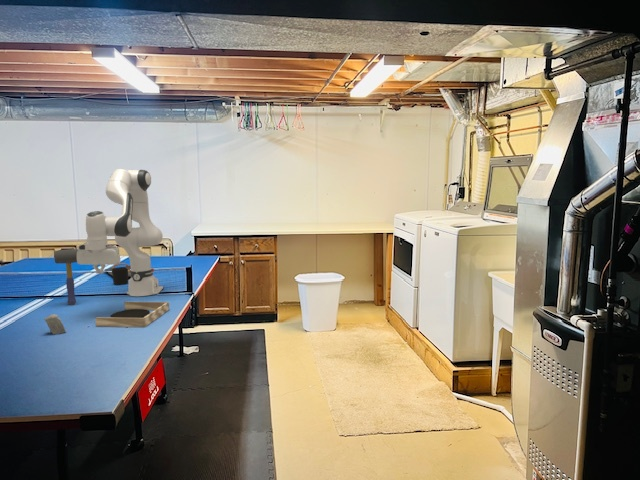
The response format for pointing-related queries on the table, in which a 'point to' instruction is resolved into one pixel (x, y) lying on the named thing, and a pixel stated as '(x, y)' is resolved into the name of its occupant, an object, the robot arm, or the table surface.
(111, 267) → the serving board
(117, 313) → the wireless charger
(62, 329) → the mineral specimen
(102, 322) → the box
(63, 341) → the table surface
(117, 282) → the pen holder
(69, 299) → the rubber mallet
